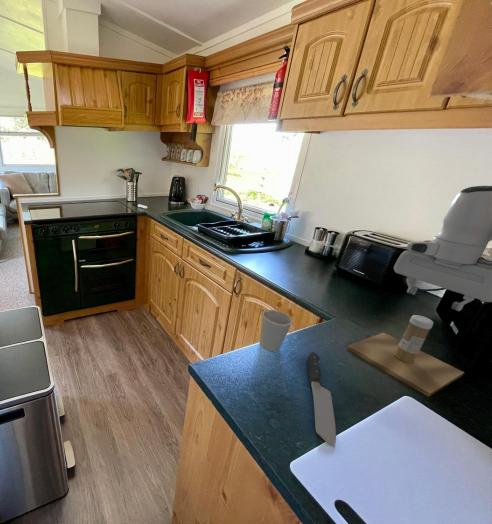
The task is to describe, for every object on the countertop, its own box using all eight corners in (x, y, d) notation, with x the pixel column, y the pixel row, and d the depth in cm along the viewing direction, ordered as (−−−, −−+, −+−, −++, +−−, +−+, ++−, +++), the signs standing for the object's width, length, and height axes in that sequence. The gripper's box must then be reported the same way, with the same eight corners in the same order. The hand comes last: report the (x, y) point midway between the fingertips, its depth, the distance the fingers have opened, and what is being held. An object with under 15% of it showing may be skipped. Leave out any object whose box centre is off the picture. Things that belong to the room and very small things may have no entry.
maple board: (462, 375, 80) (464, 372, 80) (428, 397, 72) (430, 393, 71) (381, 335, 97) (383, 332, 96) (346, 348, 88) (347, 345, 88)
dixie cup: (290, 352, 85) (299, 323, 81) (267, 356, 82) (275, 326, 79) (271, 335, 92) (278, 308, 89) (249, 338, 90) (256, 310, 86)
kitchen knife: (345, 449, 56) (319, 433, 57) (337, 455, 57) (312, 440, 58) (327, 358, 81) (309, 348, 82) (321, 364, 82) (304, 354, 83)
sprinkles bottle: (391, 351, 87) (409, 312, 82) (410, 356, 85) (430, 317, 80) (396, 360, 83) (415, 320, 78) (416, 365, 81) (437, 325, 76)
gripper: (523, 265, 65) (493, 318, 70) (412, 240, 82) (394, 284, 87) (513, 268, 62) (482, 323, 67) (401, 241, 79) (383, 287, 84)
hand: (432, 301), depth 77 cm, fingers open, 8 cm apart
